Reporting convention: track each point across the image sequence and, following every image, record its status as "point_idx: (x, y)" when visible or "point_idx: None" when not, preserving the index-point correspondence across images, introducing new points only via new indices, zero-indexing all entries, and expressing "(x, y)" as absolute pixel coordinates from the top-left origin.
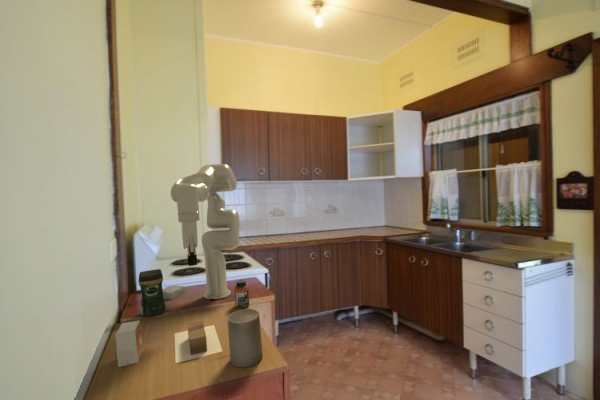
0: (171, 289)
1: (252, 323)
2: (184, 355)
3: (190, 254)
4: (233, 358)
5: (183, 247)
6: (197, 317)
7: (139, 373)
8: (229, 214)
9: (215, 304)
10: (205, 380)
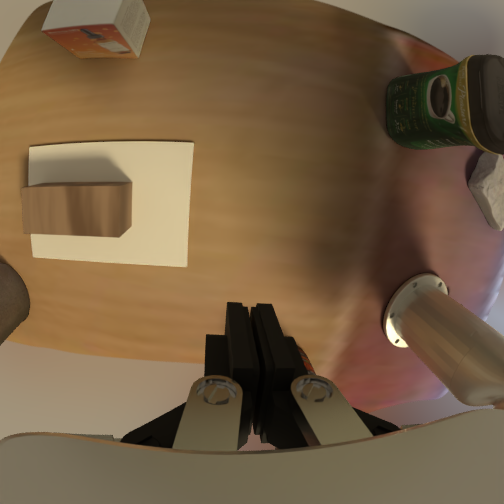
0: (495, 193)
1: None
2: (48, 167)
3: (179, 411)
4: None
5: (178, 455)
6: (289, 228)
7: (40, 72)
8: None
9: (356, 296)
10: None
